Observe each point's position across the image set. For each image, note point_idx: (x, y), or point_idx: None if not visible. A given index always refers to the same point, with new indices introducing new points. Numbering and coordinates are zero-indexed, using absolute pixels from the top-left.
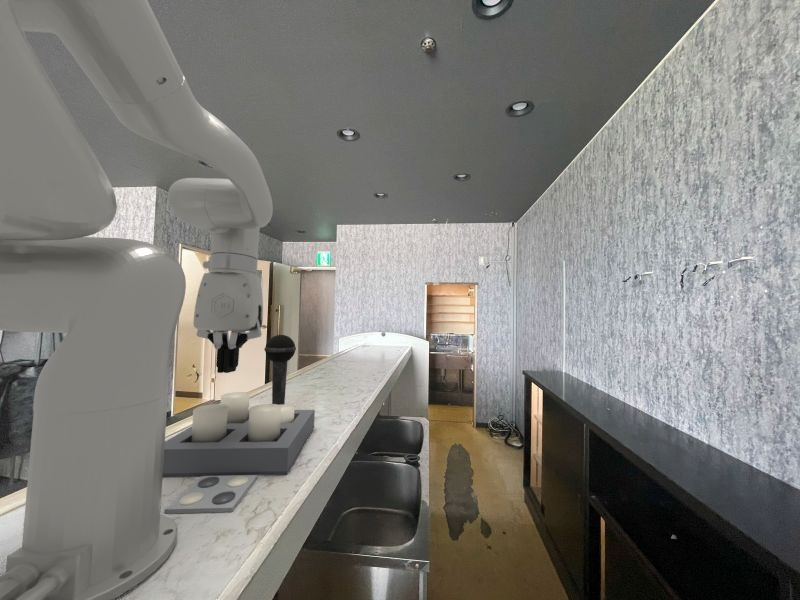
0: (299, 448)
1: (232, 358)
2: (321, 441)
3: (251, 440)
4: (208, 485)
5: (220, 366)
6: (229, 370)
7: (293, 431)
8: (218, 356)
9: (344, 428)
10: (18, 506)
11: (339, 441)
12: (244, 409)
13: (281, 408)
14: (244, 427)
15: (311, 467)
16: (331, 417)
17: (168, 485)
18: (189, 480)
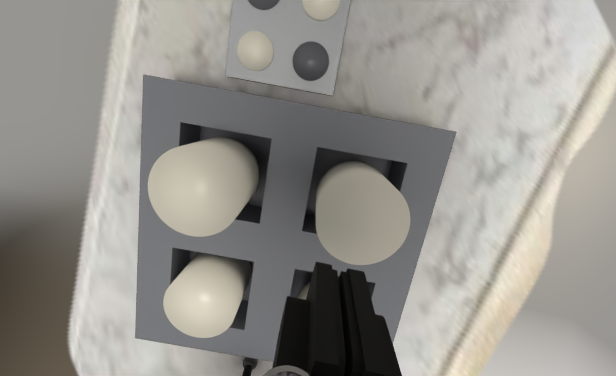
0: None
1: (292, 326)
2: (132, 230)
3: (244, 146)
4: (305, 43)
5: (352, 284)
6: (310, 285)
7: None
8: (378, 328)
9: (91, 293)
10: (607, 61)
11: (92, 222)
12: None
13: (197, 300)
14: (284, 237)
15: (131, 104)
16: (131, 367)
17: (385, 85)
18: (354, 98)
